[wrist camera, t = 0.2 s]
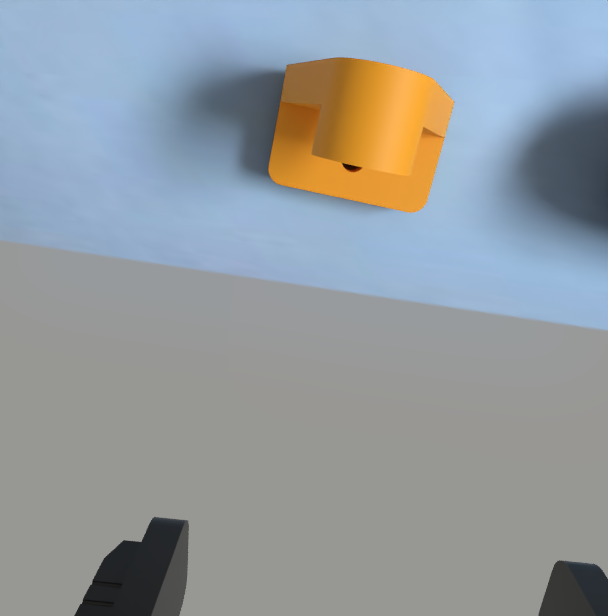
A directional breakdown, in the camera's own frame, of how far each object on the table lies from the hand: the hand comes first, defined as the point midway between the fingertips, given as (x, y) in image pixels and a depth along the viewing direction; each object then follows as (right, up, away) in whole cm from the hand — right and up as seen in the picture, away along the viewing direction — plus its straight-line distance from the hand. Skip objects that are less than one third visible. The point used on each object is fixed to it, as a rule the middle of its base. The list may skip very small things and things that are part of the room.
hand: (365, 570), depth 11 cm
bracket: (+2, +17, +25) cm, 31 cm away
